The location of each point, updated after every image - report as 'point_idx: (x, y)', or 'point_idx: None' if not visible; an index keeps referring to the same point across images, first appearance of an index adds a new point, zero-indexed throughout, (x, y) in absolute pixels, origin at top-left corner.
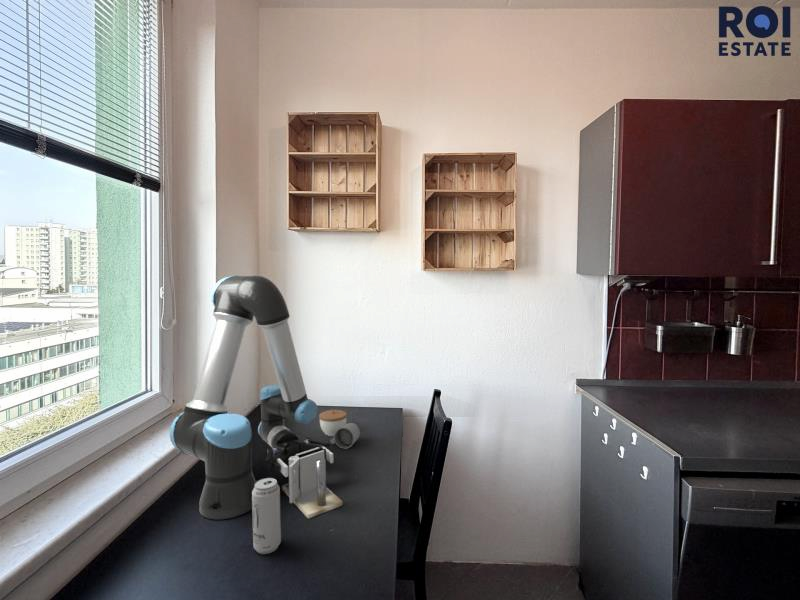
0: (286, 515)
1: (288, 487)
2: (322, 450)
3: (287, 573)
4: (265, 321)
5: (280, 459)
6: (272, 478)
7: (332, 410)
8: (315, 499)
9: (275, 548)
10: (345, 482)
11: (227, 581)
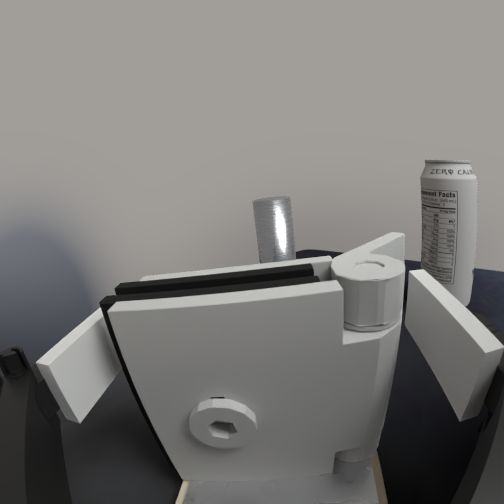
0: (403, 372)
1: (367, 500)
2: (146, 279)
3: (406, 272)
4: None
5: (473, 337)
6: (436, 160)
7: None
8: None
9: None
10: (114, 428)
11: (484, 276)
